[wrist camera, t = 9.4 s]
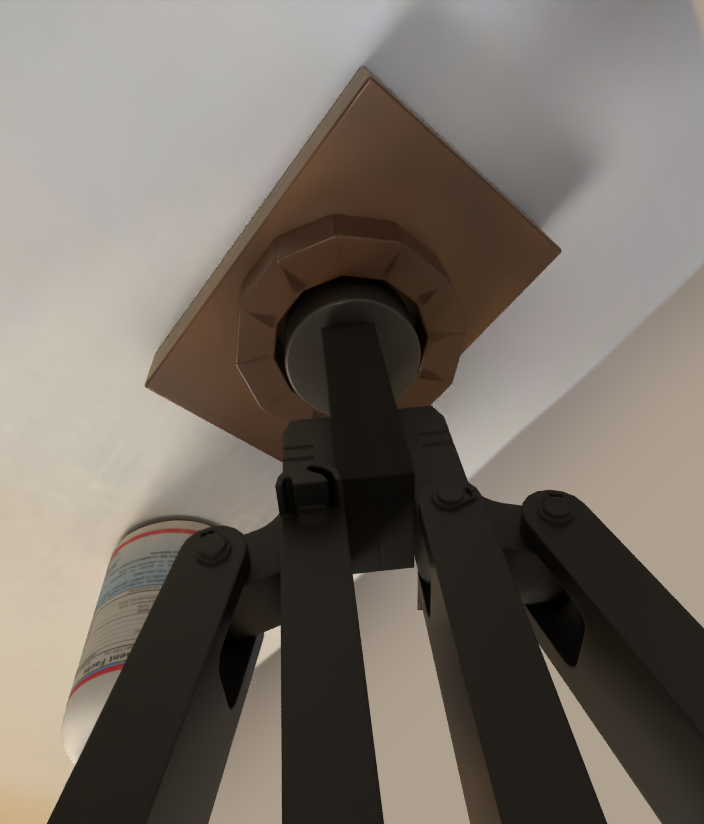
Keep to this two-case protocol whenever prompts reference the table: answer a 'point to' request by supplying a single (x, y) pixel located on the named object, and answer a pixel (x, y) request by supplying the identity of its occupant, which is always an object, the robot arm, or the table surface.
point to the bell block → (351, 264)
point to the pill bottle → (120, 621)
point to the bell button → (341, 307)
